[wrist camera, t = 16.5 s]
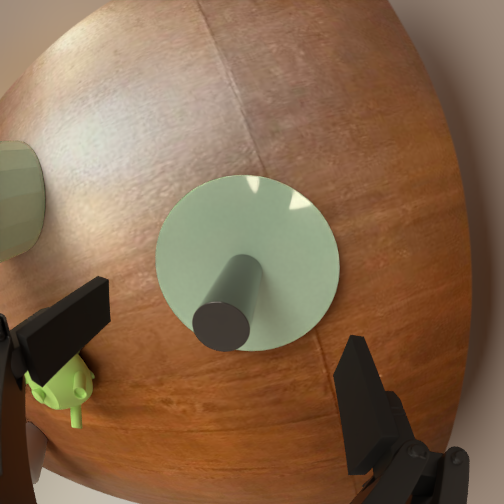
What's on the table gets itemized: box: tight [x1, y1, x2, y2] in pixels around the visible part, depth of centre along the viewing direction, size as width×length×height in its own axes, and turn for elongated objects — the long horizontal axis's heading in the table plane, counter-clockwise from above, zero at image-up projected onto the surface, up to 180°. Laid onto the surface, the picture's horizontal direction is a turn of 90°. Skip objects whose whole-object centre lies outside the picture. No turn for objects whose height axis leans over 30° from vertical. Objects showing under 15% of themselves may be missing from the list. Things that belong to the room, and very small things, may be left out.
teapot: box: [24, 351, 94, 429], centre depth 25 cm, size 11×12×8 cm
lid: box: [156, 175, 340, 352], centre depth 18 cm, size 15×15×9 cm
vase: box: [26, 422, 48, 484], centre depth 30 cm, size 14×14×25 cm
